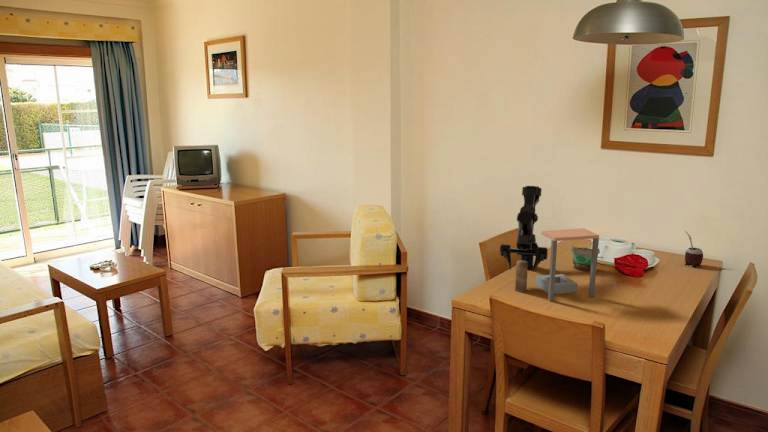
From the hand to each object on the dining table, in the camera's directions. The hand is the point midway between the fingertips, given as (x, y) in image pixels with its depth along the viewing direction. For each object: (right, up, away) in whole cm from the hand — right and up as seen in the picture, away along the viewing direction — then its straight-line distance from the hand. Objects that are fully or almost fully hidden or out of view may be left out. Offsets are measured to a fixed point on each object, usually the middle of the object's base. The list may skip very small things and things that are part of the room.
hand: (521, 270), depth 213 cm
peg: (0, -8, +1) cm, 8 cm away
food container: (+34, -3, +25) cm, 43 cm away
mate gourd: (+85, -1, +29) cm, 90 cm away
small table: (+15, -8, 0) cm, 18 cm away
